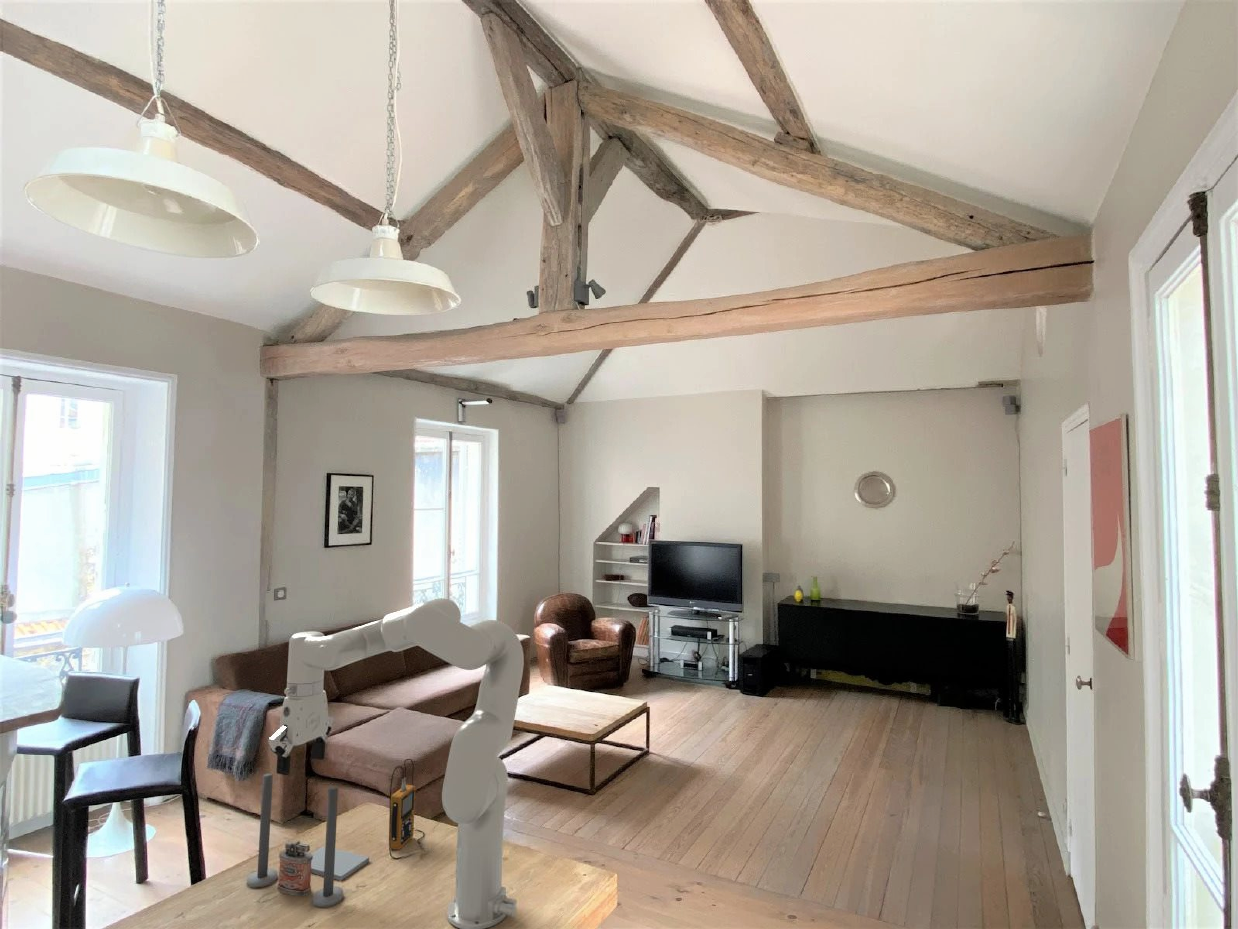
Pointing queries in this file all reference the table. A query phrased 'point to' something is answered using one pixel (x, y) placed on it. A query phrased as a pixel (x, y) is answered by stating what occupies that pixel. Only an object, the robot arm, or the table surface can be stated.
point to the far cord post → (264, 839)
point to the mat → (338, 863)
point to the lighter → (295, 868)
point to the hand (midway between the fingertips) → (301, 766)
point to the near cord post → (329, 857)
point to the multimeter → (402, 815)
